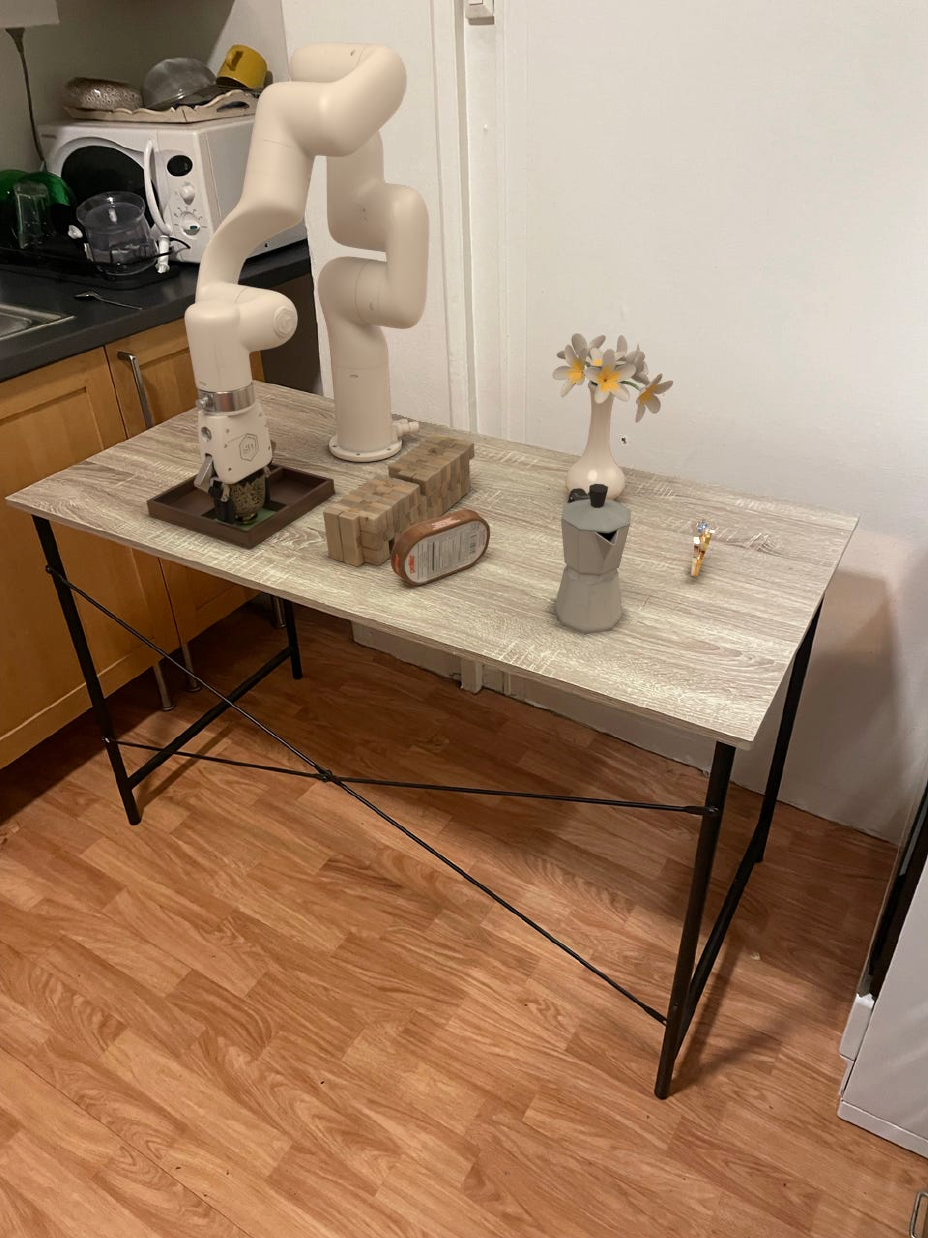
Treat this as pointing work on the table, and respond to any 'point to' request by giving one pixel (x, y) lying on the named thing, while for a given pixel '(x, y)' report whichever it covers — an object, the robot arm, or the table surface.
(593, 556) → the coffee maker
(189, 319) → the robot arm
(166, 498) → the grid
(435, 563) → the tin
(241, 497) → the cup
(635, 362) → the flower vase
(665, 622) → the table surface
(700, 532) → the ring
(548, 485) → the table surface
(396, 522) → the block tower
